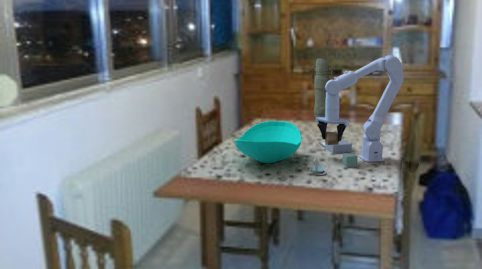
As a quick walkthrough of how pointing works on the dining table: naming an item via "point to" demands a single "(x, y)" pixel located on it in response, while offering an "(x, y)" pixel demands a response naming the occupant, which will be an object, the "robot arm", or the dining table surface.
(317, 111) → the thermos
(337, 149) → the slate base block
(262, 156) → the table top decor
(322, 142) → the card
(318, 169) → the pacifier
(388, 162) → the dining table surface
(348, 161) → the green block
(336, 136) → the walnut block
